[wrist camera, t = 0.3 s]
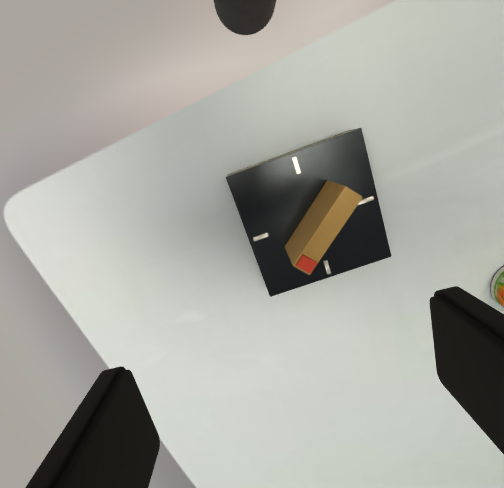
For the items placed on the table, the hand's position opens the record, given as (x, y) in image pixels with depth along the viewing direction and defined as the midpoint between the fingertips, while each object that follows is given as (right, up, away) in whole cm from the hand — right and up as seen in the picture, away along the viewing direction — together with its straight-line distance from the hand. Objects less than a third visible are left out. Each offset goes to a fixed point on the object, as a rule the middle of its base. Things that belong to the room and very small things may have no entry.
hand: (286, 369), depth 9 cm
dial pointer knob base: (+4, +7, +21) cm, 23 cm away
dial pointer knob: (+4, +6, +18) cm, 20 cm away
